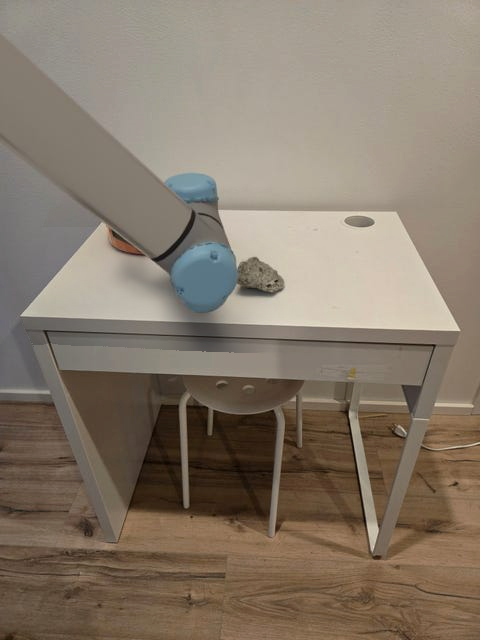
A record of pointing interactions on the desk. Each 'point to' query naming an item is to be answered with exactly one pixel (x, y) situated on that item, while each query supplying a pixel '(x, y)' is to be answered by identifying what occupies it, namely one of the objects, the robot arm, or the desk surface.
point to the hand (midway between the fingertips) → (155, 207)
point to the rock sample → (259, 276)
